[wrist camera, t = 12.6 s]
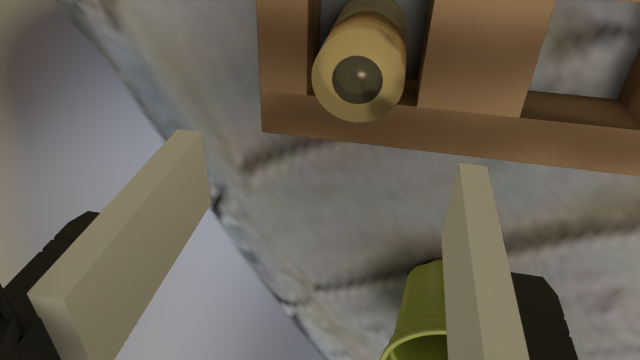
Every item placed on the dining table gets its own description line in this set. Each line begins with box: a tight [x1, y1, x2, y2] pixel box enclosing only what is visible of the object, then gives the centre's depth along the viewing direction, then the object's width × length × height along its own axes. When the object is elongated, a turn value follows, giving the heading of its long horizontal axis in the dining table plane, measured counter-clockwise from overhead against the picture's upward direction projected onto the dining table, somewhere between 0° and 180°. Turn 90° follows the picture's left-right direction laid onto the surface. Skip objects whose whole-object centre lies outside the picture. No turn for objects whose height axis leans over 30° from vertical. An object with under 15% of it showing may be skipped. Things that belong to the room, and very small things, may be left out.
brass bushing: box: [311, 0, 408, 122], centre depth 25 cm, size 4×4×8 cm
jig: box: [256, 0, 640, 176], centre depth 25 cm, size 12×24×4 cm, turn 88°
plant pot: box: [380, 259, 448, 360], centre depth 35 cm, size 9×9×9 cm
